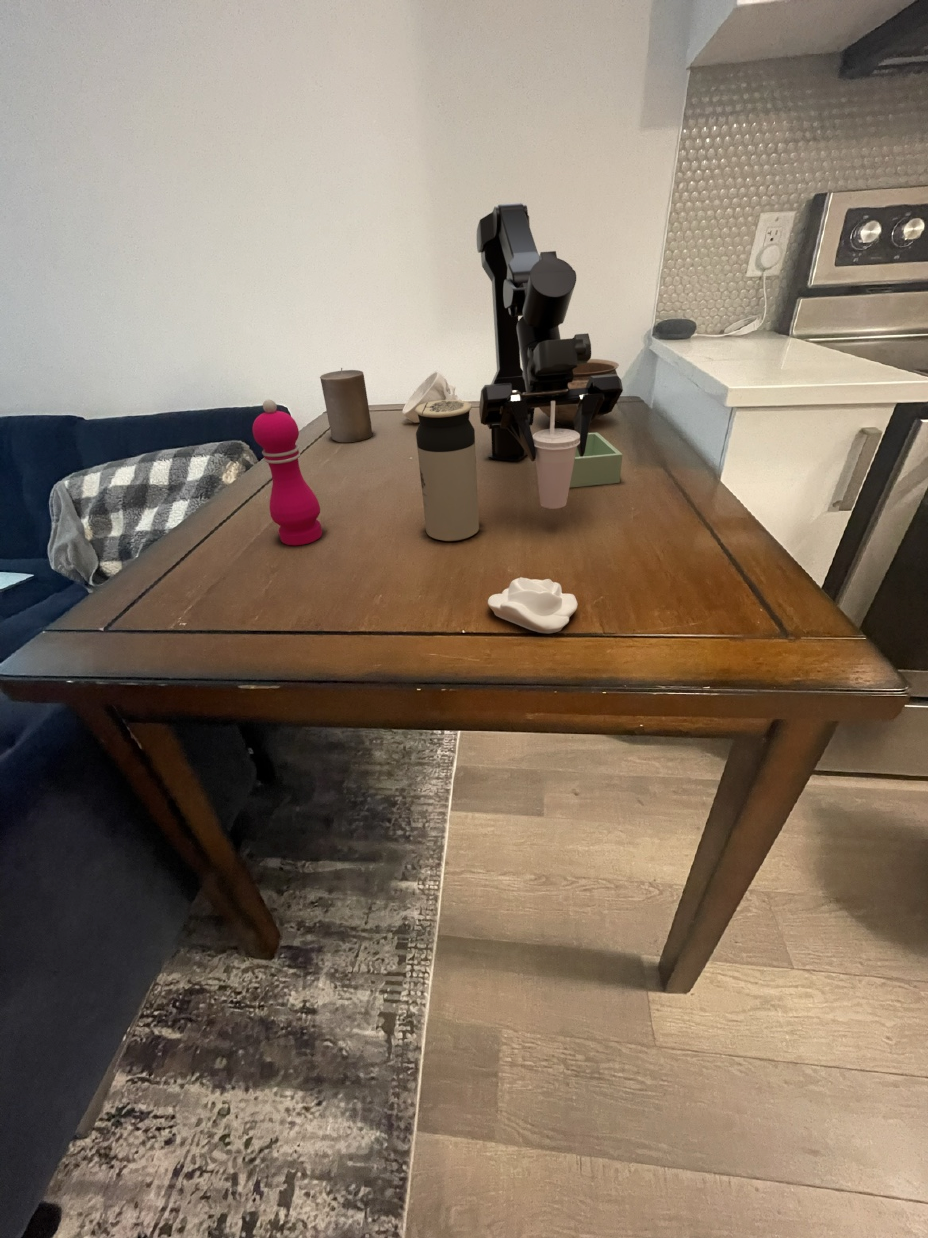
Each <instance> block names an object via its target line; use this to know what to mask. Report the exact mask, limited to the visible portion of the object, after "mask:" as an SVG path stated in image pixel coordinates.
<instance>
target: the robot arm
mask: <svg viewBox="0 0 928 1238" xmlns="http://www.w3.org/2000/svg"><path fill="white" fill-rule="evenodd" d="M530 225H531V224H530V215H529V212H528V205H527V204H523V203H522V202H514V203H499V204H498V205H497V206H494V207H493V209H492V212H490V213H488V214H487V215H485V216H483V217H482V218H480V219H479V221H478V224H477V228H476V249H477V253H478V254H480V258H481V259H480V261H481V267H482V269H483V271H484V272H485V274H486V275H487V277H488V279H489V280H490V282H491V292H492V309H493V327H494V343H495V359H496V361H495V362H496V363H495V364H496V373H495V374H494V376H493V379H492V381H491V382H490V384H485V385H483V386H482V388H481V390H480V398H479V405H478V411H479V419H480V424H482V425H484V426H487V427H488V429H489V430H490V434H491V435H490V437H491V453H490V454H489V455H488V456H487V457H488V460H489V459H490V460H497V461H508V462H517V463H518V462H520V461H521V460H522V459H524V457H526V456H528V458H529V459H530V461H531V462H536V453H535V446H534V441H533V437H532V435H533V434H532V429H531V426H533V423H534V420H535V419H534V416H535V409H538V408H539V407H551V401H555V406H562V405H576V409H577V412H576V414H575V417H574V419H573V421H574V426H573V427H574V431H576V432H578V433H579V434H580V444H579V445H577V449H578V452H579V455H580V457H582V456H583V455H584V453H585V448H586V442H587V437H588V433H589V431H590V424H591V422H590V421H591V420H593V419H595V417H596V415H603V414H604V415H608V414H609V413H612V412H613V410H614V407H615V406H616V404H617V403H618V401H619V399H620V397H621V395H622V393H623V391H624V388H623V382H622V378H620V376H619V375H618V374H617V375H618V376H617V375H616V374H609V375H597V376H590V378H589V380H588V383H587V385H586V387H585V388H576V389H569V386H568V383H570V382H572V381H573V378H574V374H573V369H574V368H577V367H578V364H586V363H587V362H588V361H589V360H590V359H592V343H591V339H590V335H589V333H576V334H574V336H573V337H572V338H562V337H561V334H560V328H559V326H560V325H562V324H564V322H565V320H566V316H567V314H568V310H569V307H570V302H571V300H572V297H573V294H574V289H575V287H576V283H577V273H576V270H574V268H573V267H572V265H570V263H568V262H567V261H565V260H563V259H561V258H559V257H558V256H557V251H556V250H550V251H540V252H538V249H537V246H536V243H535V238H534V235H533V233H532V230H531V226H530ZM519 317H520V318H519ZM539 409H540V408H539ZM604 415H603V416H604Z"/></svg>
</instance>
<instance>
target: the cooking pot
mask: <svg viewBox="0 0 928 1238" xmlns="http://www.w3.org/2000/svg"><path fill="white" fill-rule="evenodd" d="M619 366H620V364H619V363H618V362H616V361H613V360H609V359H601V358H590V360H589V361H588V362H587V363H586V364H578V367H577V368H574V369H573V374H574V378H573V381H572V382H570V383H568V386H569V389H576V388H585V387H586V385H587V383H588V380H589V378H590V376H597V375H609V374H616V375H617V376H618V377H619V375H618V372H617V369H618V368H619ZM539 410H540V411H541V412H542V413H543V414H545V415H546V416H547V417H549V418H550V415H551V407H539ZM576 412H577V409H576V405H562V406H555V421H556V422H558V423H559V424H560V425H562V426H565V427H574V421H573V419H574V417H575V414H576ZM604 415H605V414H603V415H596V417H595V419H593V420H591V421H590V423H592V422H594V421H595V420H597V419H599V418H601V417H603V416H604Z"/></svg>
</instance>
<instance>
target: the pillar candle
mask: <svg viewBox="0 0 928 1238" xmlns="http://www.w3.org/2000/svg"><path fill="white" fill-rule="evenodd" d="M319 379H320V384H321V390H322V395H323V400H324V405H325V410H326V414H327V420H328V425H329V429H330V435H331V439H332V440H333V441H335V442H336V443H337V442H338V443H355V442H361V441H364V440H368V439H370V438H372V437H373V435H374V433H373V429H372V420H371V414H370V407H369V400H368V394H367V387H366V380H365V375H364V371H362V370H356V369H345V370H344V369H343V367H340V370H336V371H330V372H326V373H323V374H321V375H320V376H319Z"/></svg>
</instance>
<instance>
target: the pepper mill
mask: <svg viewBox="0 0 928 1238" xmlns="http://www.w3.org/2000/svg"><path fill="white" fill-rule="evenodd" d="M262 409H263V411H264V412H262V413H260V414H259V415H258V416H257V417H256V418H255V420H254V421H253V423H252V434H253V438H254V441H255V442H256V444H258V445H259V446H260V447H262V451H261V454H262V455H263V462H265V463H267V465H268V467H269V469H270V473H271V478H272V484H271V485H272V486H271V492H270V496H269V497H270V498H269V508H268V509H269V513H270V518H271V520H272V521H273V522H274V523H275V524H277V525H278V526H279V527H278V534H279V538H280V541H281V542H282V543H283V544H285V545H287V546H303V545H307V544H311V543H314V542H316V541H317V540H319V539H320V538H321V537H322V535H323V530H322V525H321V522H320V521H319V520H318V518H319V516H320V513H321V506H320V502H319V500H318V498H317V496H316V494H315V492H314V491H313V490H312V489H311V487H310V486H309V485H308V483H307V482H306V480H305V478H304V477H303V474H302V472H301V469H300V463H299V462H300V461H299V458H300V457H301V453H300V450H299V449H300V447H299V445H298V444H296V443H297V441H298V439H299V435H300V430H299V427H298V424H297V422H296V420H295V418H294V417H293V416H292V415H290V414H289V413H287V412H285V411H281V410H277V409H278V405H277V403H276V402H275V400H273V399H270V398H269V399H265V400H264V401H263V403H262Z"/></svg>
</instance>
